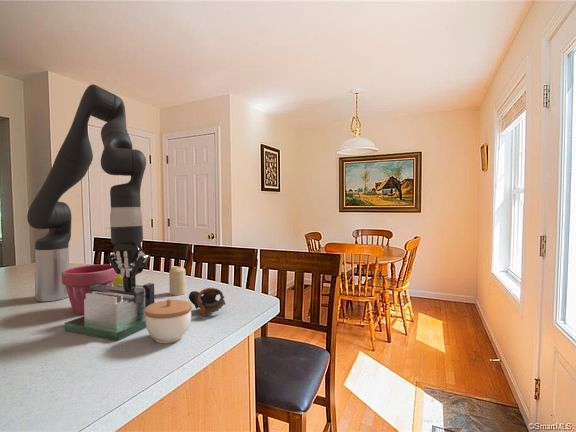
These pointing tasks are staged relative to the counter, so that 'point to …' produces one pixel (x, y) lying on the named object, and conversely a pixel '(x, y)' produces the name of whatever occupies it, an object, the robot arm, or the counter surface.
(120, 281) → the fruit
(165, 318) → the lidded jar
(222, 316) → the counter surface
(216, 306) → the brown glossy rounded piece
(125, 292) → the grey long bar
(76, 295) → the plant pot
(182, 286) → the candle
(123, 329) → the heat sink board
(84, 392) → the counter surface
